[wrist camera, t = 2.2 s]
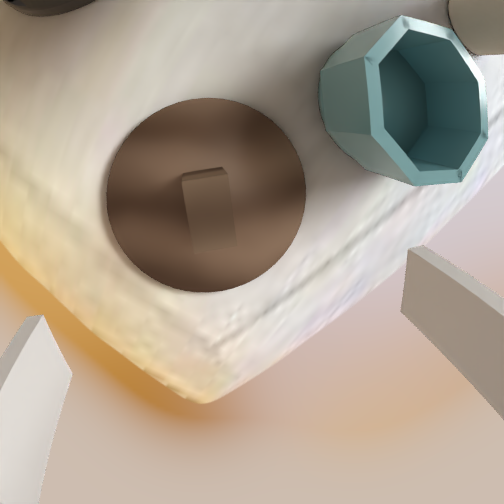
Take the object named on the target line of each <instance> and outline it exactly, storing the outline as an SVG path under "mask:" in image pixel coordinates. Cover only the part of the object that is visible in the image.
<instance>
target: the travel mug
mask: <svg viewBox="0 0 504 504" xmlns="http://www.w3.org/2000/svg"><path fill="white" fill-rule="evenodd" d="M448 10H449V16H450V20H451V23H452V26H453V28H454V30H455V32H456V34H457V36H458V37H459V39H460V40H461V42H462V43H463V44H464V45H465V46H466V47H467V48H468V49H469V50H470V51H471V52H473V53H474V54H477V55H498V54H504V0H449V5H448Z"/></svg>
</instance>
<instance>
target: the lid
mask: <svg viewBox="0 0 504 504" xmlns="http://www.w3.org/2000/svg"><path fill="white" fill-rule="evenodd" d="M305 200H306V186H305V178H304V173H303V169H302V165H301V162H300V159H299V157H298V155H297V152H296V150H295V149H294V147H293V145H292V143H291V142H290V140H289V139H288V137H287V136H286V135H285V134H284V132H283V131H282V130H281V129H280V128H279V127H278V126H277V125H276V124H275V123H274V122H273V121H272V120H270V119H269V118H268V117H266V116H265V115H263V114H262V113H260V112H259V111H257V110H255V109H253V108H251V107H249V106H247V105H244V104H241V103H238V102H235V101H230V100H225V99H218V98H200V99H191V100H186V101H182V102H178V103H176V104H173V105H170V106H168V107H165V108H163V109H161V110H160V111H158V112H156V113H154V114H152V115H151V116H150V117H148V118H147V119H146V120H144V121H143V122H142V123H141V124H140V125H139V126H138V127H137V128H135V129H134V130H133V131H132V133H131V134H130V135H129V136H128V138H127V139H126V140H125V142H124V143H123V144H122V146H121V148H120V150H119V151H118V153H117V155H116V157H115V160H114V162H113V165H112V167H111V171H110V175H109V179H108V185H107V210H108V216H109V221H110V224H111V227H112V230H113V233H114V235H115V237H116V239H117V241H118V243H119V245H120V247H121V248H122V250H123V251H124V253H125V254H126V255H127V256H128V258H129V259H130V260H131V261H132V262H133V263H134V264H135V265H136V266H137V267H138V268H139V269H140V270H141V271H143V272H144V273H145V274H147V275H148V276H150V277H151V278H153V279H155V280H157V281H159V282H160V283H162V284H165V285H167V286H170V287H173V288H176V289H180V290H184V291H191V292H216V291H223V290H227V289H232V288H235V287H238V286H240V285H243V284H246V283H248V282H250V281H252V280H253V279H255V278H257V277H259V276H260V275H262V274H263V273H265V272H266V271H267V270H268V269H270V268H271V267H272V266H273V265H274V264H275V263H276V262H277V261H278V260H279V259H280V258H281V257H282V256H283V255H284V253H285V252H286V251H287V249H288V248H289V246H290V245H291V243H292V241H293V240H294V238H295V236H296V234H297V232H298V229H299V227H300V224H301V221H302V217H303V213H304V208H305Z"/></svg>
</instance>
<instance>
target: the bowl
mask: <svg viewBox="0 0 504 504" xmlns="http://www.w3.org/2000/svg"><path fill="white" fill-rule="evenodd" d="M318 102H319V108H320V113H321V116H322V120H323V122H324V125H325V128H326V131H327V132H328V133H329V135H330V136H331V138H332V139H333V140H334V142H335V143H336V144H337V145H338V146H339V148H340V149H341V150H342V151H344V152H345V153H346V154H347V155H348V156H350V157H352V158H353V159H355V160H356V161H357V162H358V163H359V164H360V165H361V166H362V167H363V168H364V169H365V170H368V171H371V172H374V173H377V174H380V175H383V176H386V177H389V178H392V179H395V180H398V181H401V182H404V183H407V184H410V185H412V186H423V185H434V184H446V183H458V182H462V180H463V179H464V177H465V176H466V174H467V173H468V171H469V169H470V168H471V166H472V165H473V163H474V161H475V160H476V158H477V156H478V155H479V153H480V151H481V150H482V148H483V146H484V145H485V143H486V141H487V139H488V117H487V98H486V86H485V79H484V77H483V75H482V74H481V72H480V70H479V69H478V67H477V66H476V64H475V62H474V61H473V59H472V58H471V56H470V55H469V53H468V52H467V50H466V49H465V47H464V46H463V44H462V43H461V41H460V40H459V39H458V37H457V36H456V34H455V33H454V32H453V30H452V29H449V28H446V27H443V26H440V25H436V24H433V23H430V22H426V21H423V20H419V19H415V18H411V17H407V16H403V15H400V16H397V17H395V18H392V19H390V20H387V21H384V22H382V23H379V24H377V25H375V26H372V27H370V28H367V29H365V30H363V31H361V32H358V33H356V34H354V35H353V36H352V37H351V38H350V39H349V40H348V41H347V42H346V43H345V44H344V45H343V46H342V47H340V48H339V49H337V50H336V51H335V52H334V53H333V54H332V55H331V56H330V58H329V59H328V60H327V62H326V64H325V66H324V67H323V68H322V69H321V71H320V80H319V87H318Z"/></svg>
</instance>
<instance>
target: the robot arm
mask: <svg viewBox="0 0 504 504" xmlns="http://www.w3.org/2000/svg"><path fill="white" fill-rule="evenodd" d="M3 1H4V2H5V3H6V4H8V5H9V6H11V7H13V8H14V9H16V10H18V11H20V12H22V13H24V14H27V15H32V16H50V15H56V14H61V13H65V12H68V11H71V10H74V9H77V8H80V7H82V6H84V5H87V4H89V3H91V2H93V1H95V0H3ZM401 312H402V313H403V314H404V315H405V316H406V317H407V318H408V319H409V320H410V321H411V322H412V323H413V324H414V325H415V326H416V327H417V328H418V329H419V330H420V331H421V332H422V333H423V334H424V335H425V336H426V337H427V338H428V339H429V340H430V341H431V342H432V343H433V344H434V345H435V346H436V347H437V348H438V349H439V350H440V351H441V352H442V353H443V354H444V355H445V356H446V357H447V359H448V360H449V361H450V362H451V363H452V364H453V365H454V366H455V367H456V368H457V369H458V370H459V371H460V372H461V373H462V374H463V375H464V376H465V378H467V380H468V381H469V382H470V383H471V384H472V385H473V386H474V387H475V388H476V389H477V390H478V392H479V393H480V394H481V395H482V396H483V397H484V398H485V399H486V400H487V401H488V403H489V404H490V405H491V406H492V407H493V408H494V409H495V410H496V412H497V413H498V414H499V415H500V416H501V417H502V418H503V419H504V298H503V297H502V296H500V295H499V294H497V293H496V292H494V291H493V290H492V289H490V288H489V287H487V286H486V285H484V284H483V283H481V282H480V281H478V280H477V279H475V278H474V277H472V276H471V275H469V274H468V273H466V272H465V271H463V270H462V269H460V268H459V267H457V266H456V265H454V264H452V263H451V262H449V261H448V260H446V259H444V258H443V257H441V256H440V255H438V254H437V253H435V252H433V251H432V250H430V249H428V248H427V247H425V246H424V245H422V246H418V247H414V248H409V249H408V255H407V265H406V274H405V283H404V290H403V298H402V305H401ZM72 375H73V374H72V372H71V370H70V368H69V366H68V364H67V363H66V361H65V359H64V357H63V355H62V353H61V351H60V349H59V347H58V345H57V343H56V341H55V339H54V337H53V335H52V333H51V331H50V329H49V327H48V325H47V322H46V320H45V318H44V316H43V315H37V316H29V317H27V318H26V319H25V321H24V322H23V323H22V325H21V327H20V328H19V330H18V331H17V333H16V334H15V336H14V337H13V339H12V340H11V342H10V344H9V345H8V347H7V348H6V350H5V352H4V353H3V355H2V357H1V358H0V504H39V499H40V493H41V488H42V483H43V479H44V474H45V470H46V465H47V461H48V457H49V452H50V448H51V445H52V441H53V437H54V433H55V430H56V426H57V423H58V419H59V416H60V413H61V409H62V406H63V402H64V400H65V396H66V393H67V390H68V387H69V384H70V381H71V378H72Z"/></svg>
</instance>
